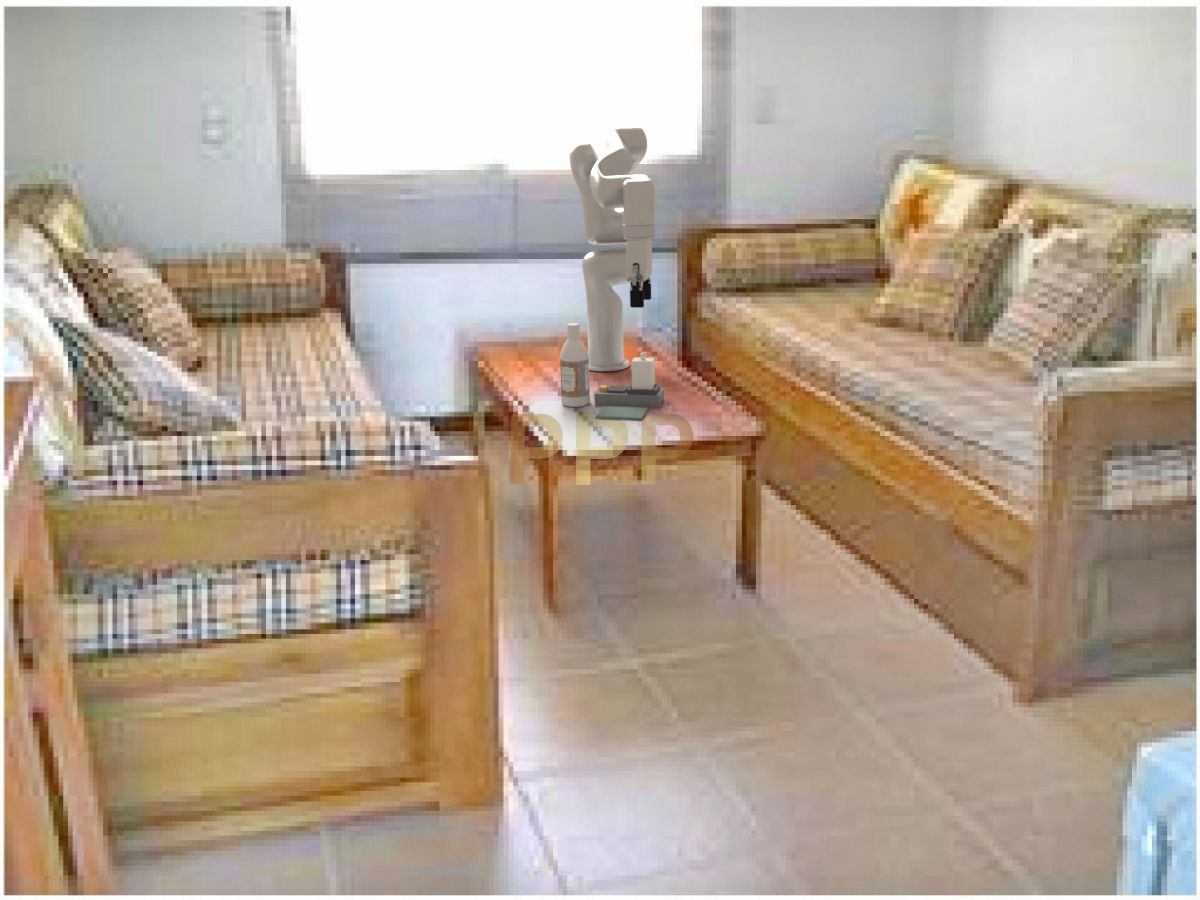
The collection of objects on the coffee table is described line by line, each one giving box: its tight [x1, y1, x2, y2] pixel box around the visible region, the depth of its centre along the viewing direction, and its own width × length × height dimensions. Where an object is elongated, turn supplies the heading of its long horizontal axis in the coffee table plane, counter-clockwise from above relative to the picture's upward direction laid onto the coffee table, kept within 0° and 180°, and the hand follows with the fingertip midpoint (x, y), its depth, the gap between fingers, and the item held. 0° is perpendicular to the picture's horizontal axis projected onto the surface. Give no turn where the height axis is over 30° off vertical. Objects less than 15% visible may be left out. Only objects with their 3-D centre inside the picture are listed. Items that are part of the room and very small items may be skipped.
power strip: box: [594, 382, 665, 409], centre depth 339 cm, size 7×16×4 cm, turn 78°
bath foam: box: [559, 322, 591, 408], centre depth 337 cm, size 7×7×20 cm
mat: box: [595, 406, 649, 421], centre depth 330 cm, size 9×11×1 cm
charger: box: [630, 352, 656, 390], centre depth 336 cm, size 4×5×10 cm
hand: (640, 303), depth 331 cm, fingers open, 9 cm apart
